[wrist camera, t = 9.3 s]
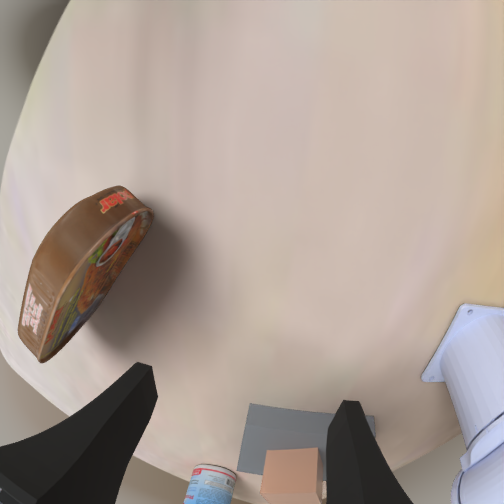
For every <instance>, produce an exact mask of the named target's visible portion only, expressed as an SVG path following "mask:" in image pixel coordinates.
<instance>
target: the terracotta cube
mask: <svg viewBox="0 0 504 504" xmlns="http://www.w3.org/2000/svg"><path fill="white" fill-rule="evenodd" d="M322 489H323V463H322V460H321V456H320V453H319V449H318V447H316V448H304V449H289V450H267V452H266V459H265V465H264V472H263V478H262V484H261V490H260V494H261V495H262V496H263V497H264V498H265V499H266V500H267V501H268V502H269V504H322Z"/></svg>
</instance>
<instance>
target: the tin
mask: <svg viewBox="0 0 504 504" xmlns="http://www.w3.org/2000/svg"><path fill="white" fill-rule="evenodd" d="M153 217H154V213H153V211H152V210H151V209H150V208H147V207H146V206H145V205H144V204H142V203H141V202H140V201H139V200H138V199H137V198H136V197H135V196H134V195H133V194H132V193H131V192H130V191H129V190H127V189H126V188H124V187H123V186H115V187H110V188H107V189H105V190H102V191H100V192H98V193H96V194H94V195H92V196H90V197H87V198H85V199H83V200H81V201H80V202H78V203H77V204H75V205H74V206H73V207H72V208H70V209H69V210H68V211H67V212H66V213H65V214H64V215H63V216H62V217H61V218H60V219H59V220H58V221H57V222H56V223H55V224H54V226H53V227H52V228H51V229H50V231H49V232H48V233H47V235H46V236H45V238H44V239H43V241H42V243H41V244H40V246H39V248H38V250H37V252H36V254H35V256H34V258H33V260H32V264H31V267H30V271H29V275H28V279H27V283H26V287H25V292H24V296H23V301H22V307H21V312H20V318H19V324H18V335H19V337H20V339H21V341H22V342H23V343H24V344H25V345H26V347H27V348H28V349H29V350H30V351H31V352H32V353H33V354H34V355H35V356H36V357H37V359H38V361H39V362H40V363H45V362H47V361H48V360H50V359H51V358H52V357H53V356H54V355H56V354H57V353H58V352H59V351H60V350H61V349H62V348H63V347H64V346H65V345H66V344H67V343H68V342H69V341H70V340H71V338H72V337H73V336H74V335H75V334H76V333H77V332H78V330H79V329H80V328H81V327H82V326H83V325H84V324H85V322H86V321H87V320H88V319H89V318H90V317H91V315H92V314H93V313H94V312H95V310H96V309H97V308H98V306H99V305H100V303H101V302H102V300H103V299H104V297H105V296H106V294H107V293H108V291H109V289H110V288H111V286H112V284H113V283H114V281H115V280H116V278H117V276H118V275H119V273H120V272H121V270H122V269H123V267H124V266H125V264H126V263H127V261H128V260H129V258H130V257H131V255H132V254H133V252H134V251H135V249H136V248H137V246H138V245H139V243H140V242H141V240H142V239H143V237H144V236H145V234H146V233H147V231H148V229H149V227H150V225H151V223H152V220H153Z"/></svg>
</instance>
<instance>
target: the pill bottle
mask: <svg viewBox="0 0 504 504" xmlns="http://www.w3.org/2000/svg"><path fill="white" fill-rule="evenodd" d="M235 480H236V476H235V474H234V473H233V472H231V471H229V470H228V469H225V468H222V467H218V466H213V465H207V464H201V465H197V466H196V467H195V468H194V470H193V474H192V477H191V480H190V484H189V487H188V490H187V493H186V496H185V500H184V503H183V504H230V503H231V499H232V494H233V490H234V485H235Z"/></svg>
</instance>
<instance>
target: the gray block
mask: <svg viewBox="0 0 504 504" xmlns="http://www.w3.org/2000/svg"><path fill="white" fill-rule="evenodd" d="M334 416H335V414H329V413H318V412H308V411H299V410H291V409H283V408H276V407H270V406H263V405H257V404H251V403H250V405H249V410H248V415H247V420H246V425H245V430H244V435H243V440H242V445H241V451H240V456H239V461H238V466H237V471H240V472H246V473H252V474H258V475H263V472H264V465H265V459H266V452H267V450H289V449H304V448H316V447H318V449H319V453H320V456H321V460H322V463H323V481H326V443H327V432H328V427H329V425H330V423H331V422H332V420H333V418H334ZM365 417H366V419H367V422H368V424H369V426H370V429H371V431H372V433H373V435H374V438H375V437H376V433H375V425H374V417H373V416H365Z"/></svg>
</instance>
